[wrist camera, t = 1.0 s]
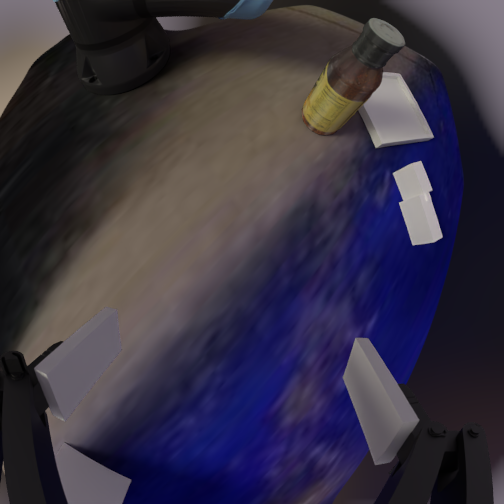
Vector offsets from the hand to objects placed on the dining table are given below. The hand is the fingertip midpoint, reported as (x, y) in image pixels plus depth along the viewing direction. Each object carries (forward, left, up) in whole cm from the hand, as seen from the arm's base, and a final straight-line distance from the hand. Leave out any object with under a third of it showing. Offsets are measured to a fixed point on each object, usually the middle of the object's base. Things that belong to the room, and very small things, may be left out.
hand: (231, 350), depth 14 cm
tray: (-21, +36, -18) cm, 46 cm away
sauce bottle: (-20, +21, -19) cm, 35 cm away
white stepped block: (-4, +32, -19) cm, 37 cm away
